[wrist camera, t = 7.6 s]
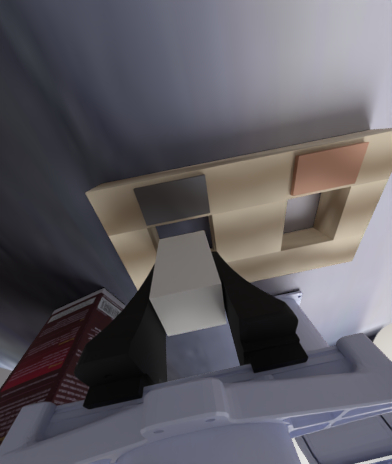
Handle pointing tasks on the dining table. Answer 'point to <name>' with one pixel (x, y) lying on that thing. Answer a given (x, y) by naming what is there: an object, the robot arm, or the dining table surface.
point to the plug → (186, 285)
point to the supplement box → (56, 357)
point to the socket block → (255, 205)
